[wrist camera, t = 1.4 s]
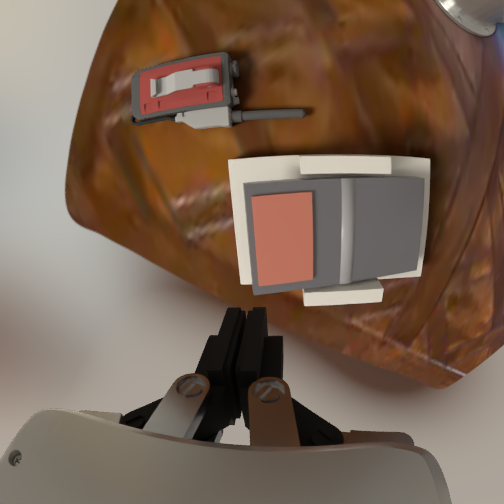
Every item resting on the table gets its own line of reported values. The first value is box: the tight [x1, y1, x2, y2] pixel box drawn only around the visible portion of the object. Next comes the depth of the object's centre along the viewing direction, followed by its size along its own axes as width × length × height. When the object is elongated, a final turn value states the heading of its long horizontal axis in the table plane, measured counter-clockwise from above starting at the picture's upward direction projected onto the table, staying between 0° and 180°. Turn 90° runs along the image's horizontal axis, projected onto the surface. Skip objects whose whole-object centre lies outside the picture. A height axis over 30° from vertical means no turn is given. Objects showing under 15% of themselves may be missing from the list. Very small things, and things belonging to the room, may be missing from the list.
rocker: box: [243, 176, 425, 295], centre depth 25 cm, size 18×10×2 cm, turn 95°
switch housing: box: [228, 154, 430, 306], centre depth 27 cm, size 22×14×8 cm, turn 94°
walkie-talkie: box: [130, 52, 306, 129], centre depth 25 cm, size 9×4×20 cm
